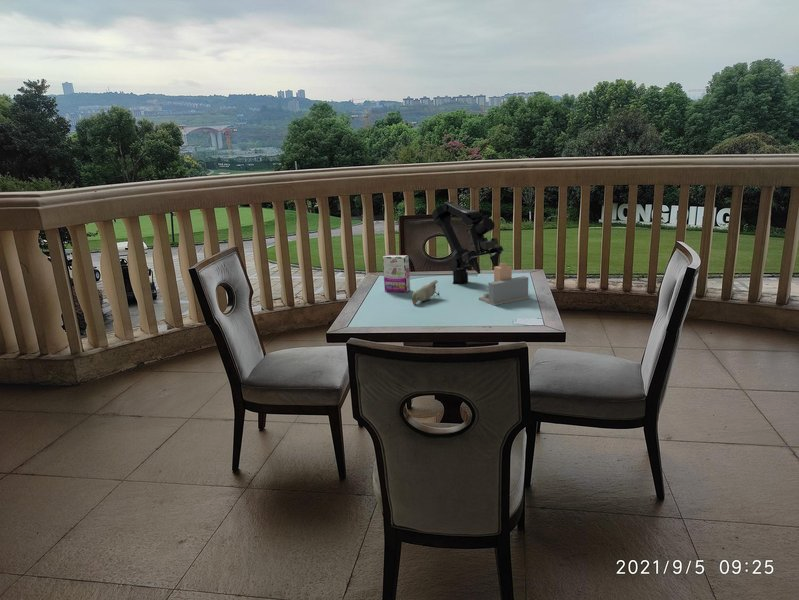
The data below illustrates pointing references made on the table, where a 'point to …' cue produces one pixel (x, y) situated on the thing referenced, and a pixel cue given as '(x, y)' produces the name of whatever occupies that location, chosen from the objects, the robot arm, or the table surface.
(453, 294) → the table surface
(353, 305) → the table surface
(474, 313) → the table surface
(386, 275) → the candy bar box
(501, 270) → the tan tall block
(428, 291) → the decorative bird
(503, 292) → the wall board
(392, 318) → the table surface
